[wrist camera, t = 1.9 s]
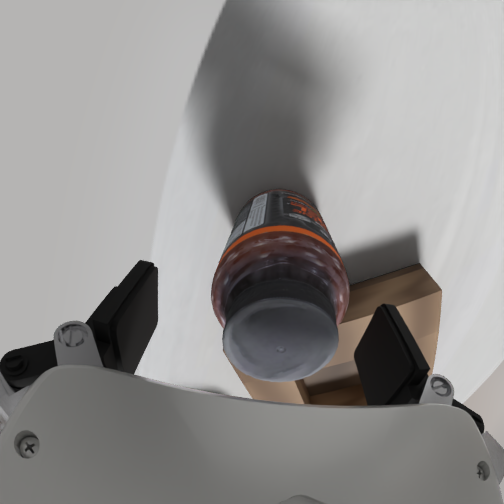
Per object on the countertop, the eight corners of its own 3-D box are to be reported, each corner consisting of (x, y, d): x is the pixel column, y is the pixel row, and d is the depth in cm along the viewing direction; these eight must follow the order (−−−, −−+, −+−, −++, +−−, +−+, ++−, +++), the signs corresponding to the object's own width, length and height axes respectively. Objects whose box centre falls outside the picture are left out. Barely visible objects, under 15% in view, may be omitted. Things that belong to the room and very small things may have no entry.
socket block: (419, 263, 19) (442, 290, 16) (414, 380, 25) (424, 406, 22) (230, 316, 23) (222, 350, 19) (282, 414, 29) (282, 442, 25)
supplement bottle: (339, 224, 19) (401, 337, 8) (283, 282, 21) (287, 414, 11) (273, 167, 17) (271, 231, 7) (218, 234, 20) (165, 351, 9)
